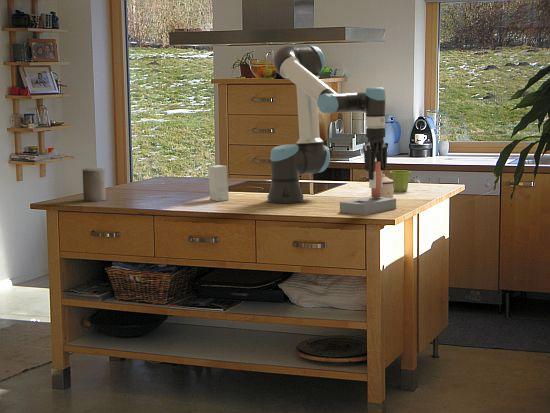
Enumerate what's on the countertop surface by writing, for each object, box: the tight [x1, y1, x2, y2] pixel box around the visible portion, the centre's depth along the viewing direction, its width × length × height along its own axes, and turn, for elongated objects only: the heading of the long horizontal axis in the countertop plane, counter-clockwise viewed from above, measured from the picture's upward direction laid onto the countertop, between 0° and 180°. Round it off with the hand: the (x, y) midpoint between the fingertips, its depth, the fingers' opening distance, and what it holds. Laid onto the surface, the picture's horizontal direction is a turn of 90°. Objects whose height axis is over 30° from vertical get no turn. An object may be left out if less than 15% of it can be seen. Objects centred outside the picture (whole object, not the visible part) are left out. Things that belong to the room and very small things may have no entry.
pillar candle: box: [82, 166, 107, 202], centre depth 414 cm, size 10×10×15 cm
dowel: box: [370, 160, 381, 198], centre depth 371 cm, size 4×4×14 cm
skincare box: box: [207, 164, 230, 202], centre depth 406 cm, size 8×6×15 cm
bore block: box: [339, 196, 397, 216], centre depth 369 cm, size 12×20×4 cm, turn 136°
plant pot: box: [389, 169, 412, 193], centre depth 423 cm, size 9×9×9 cm
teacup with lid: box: [381, 173, 394, 198], centre depth 387 cm, size 12×9×12 cm
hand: (375, 187), depth 371 cm, fingers closed on dowel, 3 cm apart
